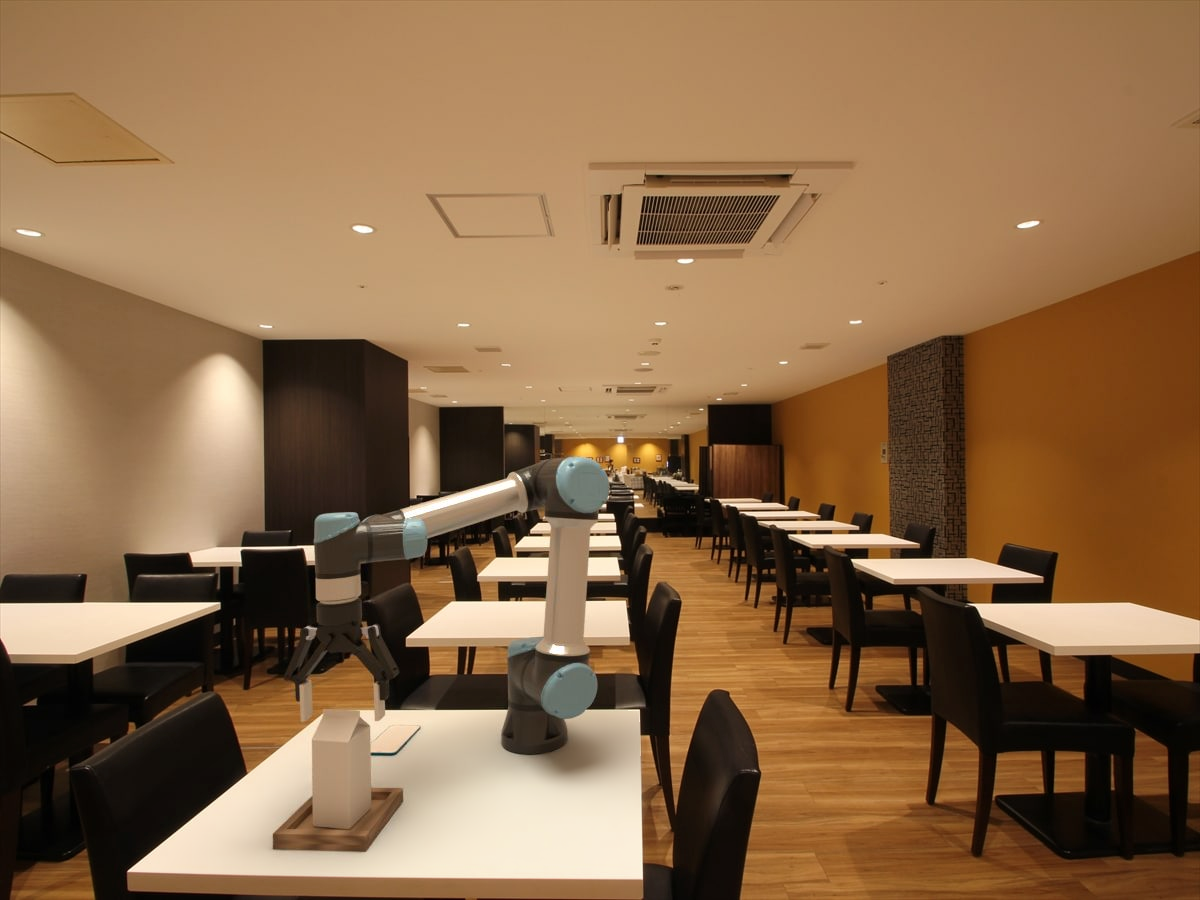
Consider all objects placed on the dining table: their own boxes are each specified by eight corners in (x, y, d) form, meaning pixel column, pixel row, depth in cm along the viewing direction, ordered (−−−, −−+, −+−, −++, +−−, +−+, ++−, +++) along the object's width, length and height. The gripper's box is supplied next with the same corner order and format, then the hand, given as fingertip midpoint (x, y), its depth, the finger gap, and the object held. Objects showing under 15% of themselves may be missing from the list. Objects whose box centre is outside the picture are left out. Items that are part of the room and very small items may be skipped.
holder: (403, 801, 123) (402, 788, 123) (365, 851, 107) (365, 835, 107) (321, 799, 124) (321, 786, 124) (272, 849, 108) (272, 833, 108)
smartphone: (390, 728, 160) (360, 756, 144) (390, 724, 160) (360, 752, 144) (422, 729, 159) (395, 757, 143) (422, 725, 159) (395, 753, 143)
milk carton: (349, 830, 112) (348, 718, 112) (312, 827, 113) (311, 716, 113) (371, 809, 119) (370, 703, 119) (336, 806, 120) (334, 701, 120)
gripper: (414, 593, 119) (418, 709, 119) (284, 596, 121) (288, 711, 121) (398, 602, 112) (402, 726, 112) (260, 605, 114) (264, 727, 114)
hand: (343, 718), depth 116 cm, fingers open, 13 cm apart
